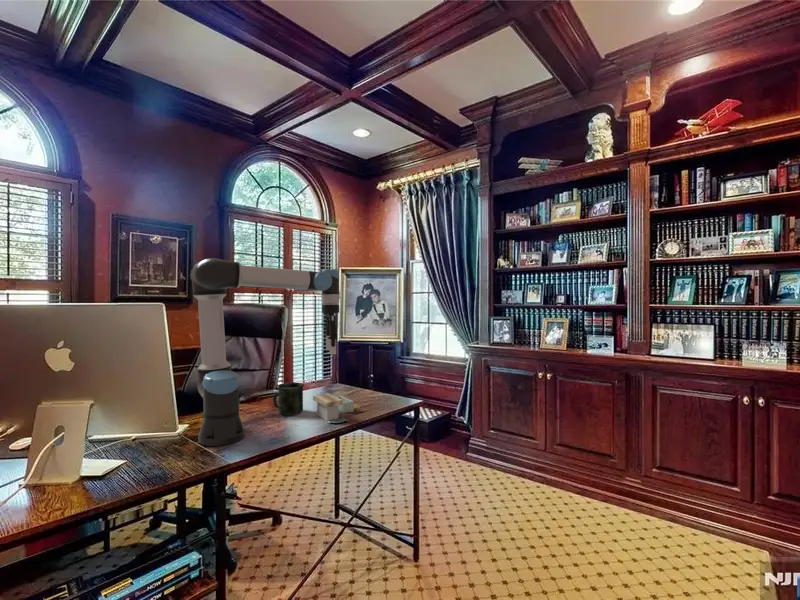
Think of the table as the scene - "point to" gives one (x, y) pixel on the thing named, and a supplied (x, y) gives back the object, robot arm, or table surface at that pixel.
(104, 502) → the table surface
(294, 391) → the mug
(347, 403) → the dish
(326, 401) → the lid
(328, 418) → the light grey rectangular block
